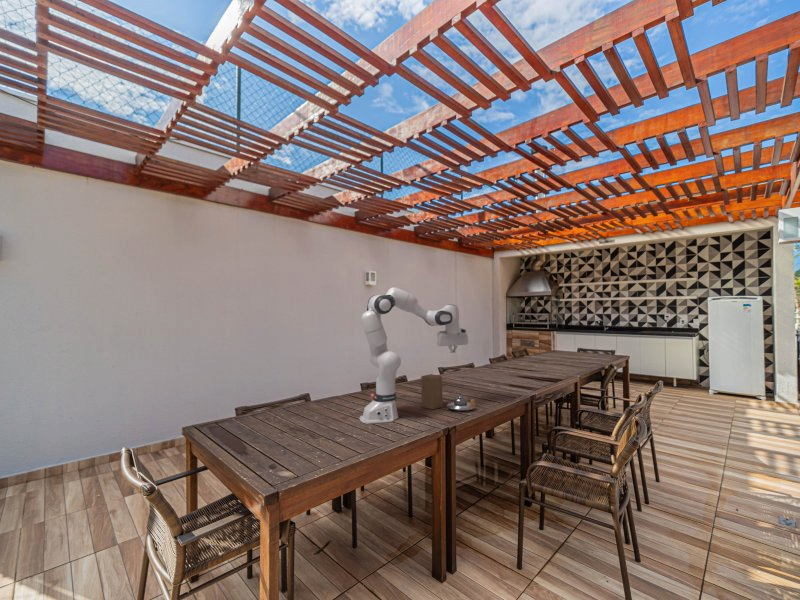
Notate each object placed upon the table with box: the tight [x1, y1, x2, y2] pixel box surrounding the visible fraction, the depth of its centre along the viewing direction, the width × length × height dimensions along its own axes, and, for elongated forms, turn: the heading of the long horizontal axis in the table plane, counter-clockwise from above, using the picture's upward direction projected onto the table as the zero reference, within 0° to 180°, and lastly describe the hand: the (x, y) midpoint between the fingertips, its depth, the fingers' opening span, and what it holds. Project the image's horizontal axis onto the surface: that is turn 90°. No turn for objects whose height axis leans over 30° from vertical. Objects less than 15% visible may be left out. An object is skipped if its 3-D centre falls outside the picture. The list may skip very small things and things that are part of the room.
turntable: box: [446, 398, 476, 411], centre depth 224 cm, size 17×17×6 cm
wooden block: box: [420, 373, 444, 411], centre depth 230 cm, size 10×10×20 cm
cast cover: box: [453, 395, 468, 406], centre depth 223 cm, size 8×8×5 cm
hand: (453, 352), depth 224 cm, fingers closed
